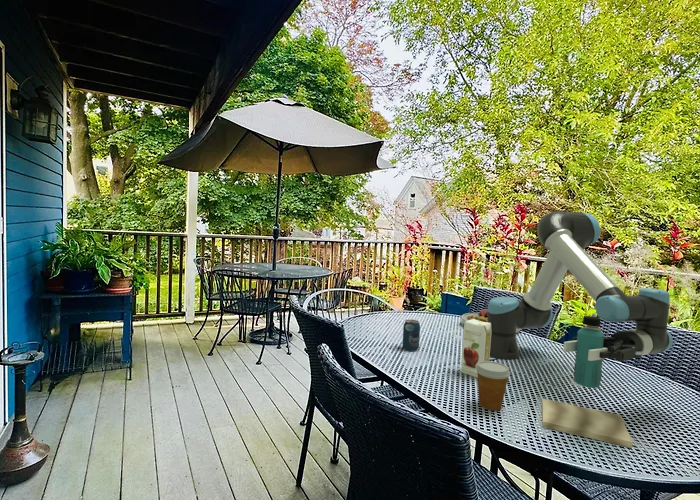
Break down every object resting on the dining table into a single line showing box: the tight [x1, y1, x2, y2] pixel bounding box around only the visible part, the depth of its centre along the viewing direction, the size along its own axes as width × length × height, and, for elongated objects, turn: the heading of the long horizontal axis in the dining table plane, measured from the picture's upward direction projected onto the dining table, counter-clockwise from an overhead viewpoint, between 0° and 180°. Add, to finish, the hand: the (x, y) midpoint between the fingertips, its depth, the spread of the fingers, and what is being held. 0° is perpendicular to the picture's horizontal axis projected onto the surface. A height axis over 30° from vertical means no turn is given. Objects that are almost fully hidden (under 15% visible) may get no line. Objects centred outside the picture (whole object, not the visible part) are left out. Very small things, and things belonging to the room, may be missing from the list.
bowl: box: [461, 308, 522, 334], centre depth 209 cm, size 30×30×8 cm
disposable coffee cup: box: [476, 360, 511, 411], centre depth 118 cm, size 10×10×12 cm
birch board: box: [541, 398, 633, 449], centre depth 110 cm, size 20×16×2 cm
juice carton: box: [460, 319, 491, 379], centre depth 143 cm, size 8×9×19 cm
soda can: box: [402, 319, 421, 352], centre depth 168 cm, size 7×7×12 cm
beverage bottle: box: [573, 315, 605, 389], centre depth 109 cm, size 6×7×20 cm
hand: (577, 351), depth 107 cm, fingers closed on beverage bottle, 6 cm apart
